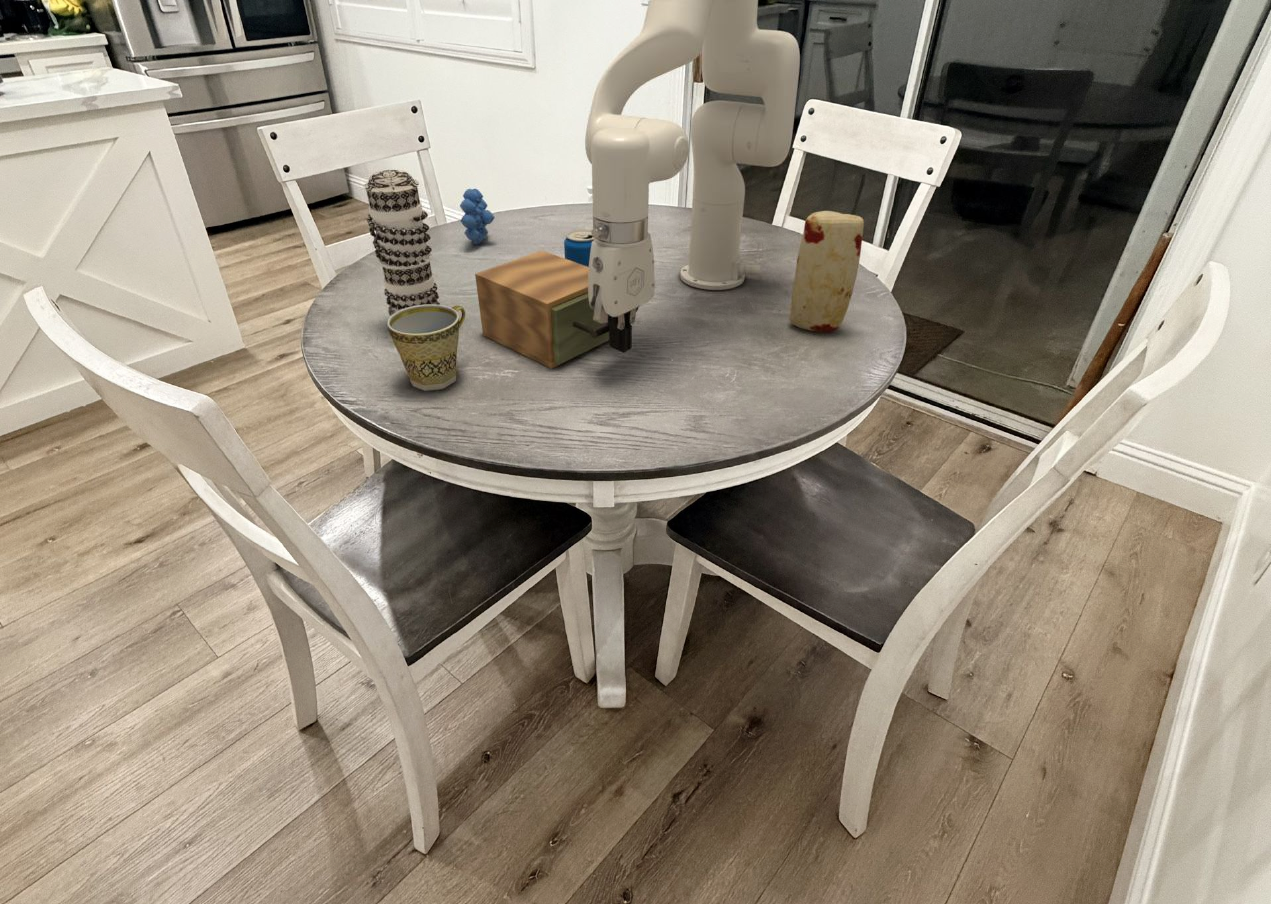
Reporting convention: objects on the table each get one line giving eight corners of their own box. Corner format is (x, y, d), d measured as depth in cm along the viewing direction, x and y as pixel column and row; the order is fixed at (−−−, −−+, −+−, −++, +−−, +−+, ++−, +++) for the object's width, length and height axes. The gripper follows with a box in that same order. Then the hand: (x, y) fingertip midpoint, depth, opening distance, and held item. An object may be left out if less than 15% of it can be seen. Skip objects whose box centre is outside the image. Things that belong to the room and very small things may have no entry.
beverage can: (597, 307, 127) (595, 242, 120) (562, 304, 128) (559, 239, 121) (605, 293, 132) (604, 230, 125) (572, 290, 133) (569, 227, 126)
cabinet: (614, 337, 118) (613, 276, 111) (551, 368, 109) (547, 303, 103) (545, 308, 127) (541, 250, 120) (482, 335, 118) (474, 273, 112)
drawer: (640, 345, 113) (641, 293, 108) (583, 375, 105) (581, 321, 100) (552, 308, 124) (549, 260, 119) (494, 333, 116) (488, 282, 111)
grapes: (489, 254, 148) (482, 196, 141) (458, 252, 149) (450, 194, 141) (505, 236, 157) (499, 180, 150) (475, 234, 158) (468, 179, 151)
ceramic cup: (434, 404, 100) (422, 340, 94) (385, 384, 105) (371, 323, 99) (495, 366, 109) (487, 306, 103) (447, 350, 114) (438, 291, 108)
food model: (786, 333, 119) (804, 215, 108) (788, 317, 125) (805, 202, 113) (845, 339, 118) (869, 220, 106) (844, 322, 123) (868, 207, 111)
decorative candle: (427, 309, 126) (401, 162, 111) (455, 326, 121) (432, 174, 106) (380, 325, 121) (346, 173, 106) (407, 343, 115) (376, 186, 101)
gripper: (604, 248, 90) (606, 374, 100) (675, 221, 99) (669, 339, 110) (562, 235, 93) (568, 358, 104) (634, 210, 103) (632, 325, 114)
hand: (620, 348), depth 107 cm, fingers closed
